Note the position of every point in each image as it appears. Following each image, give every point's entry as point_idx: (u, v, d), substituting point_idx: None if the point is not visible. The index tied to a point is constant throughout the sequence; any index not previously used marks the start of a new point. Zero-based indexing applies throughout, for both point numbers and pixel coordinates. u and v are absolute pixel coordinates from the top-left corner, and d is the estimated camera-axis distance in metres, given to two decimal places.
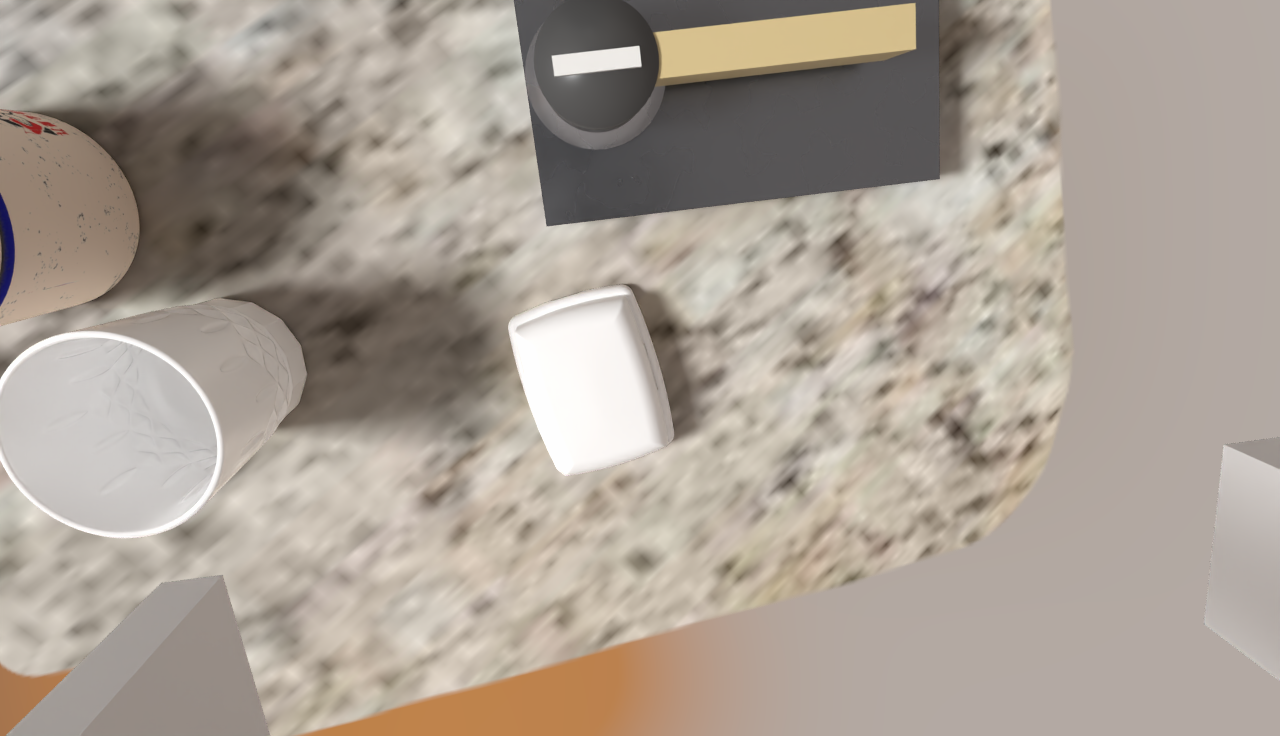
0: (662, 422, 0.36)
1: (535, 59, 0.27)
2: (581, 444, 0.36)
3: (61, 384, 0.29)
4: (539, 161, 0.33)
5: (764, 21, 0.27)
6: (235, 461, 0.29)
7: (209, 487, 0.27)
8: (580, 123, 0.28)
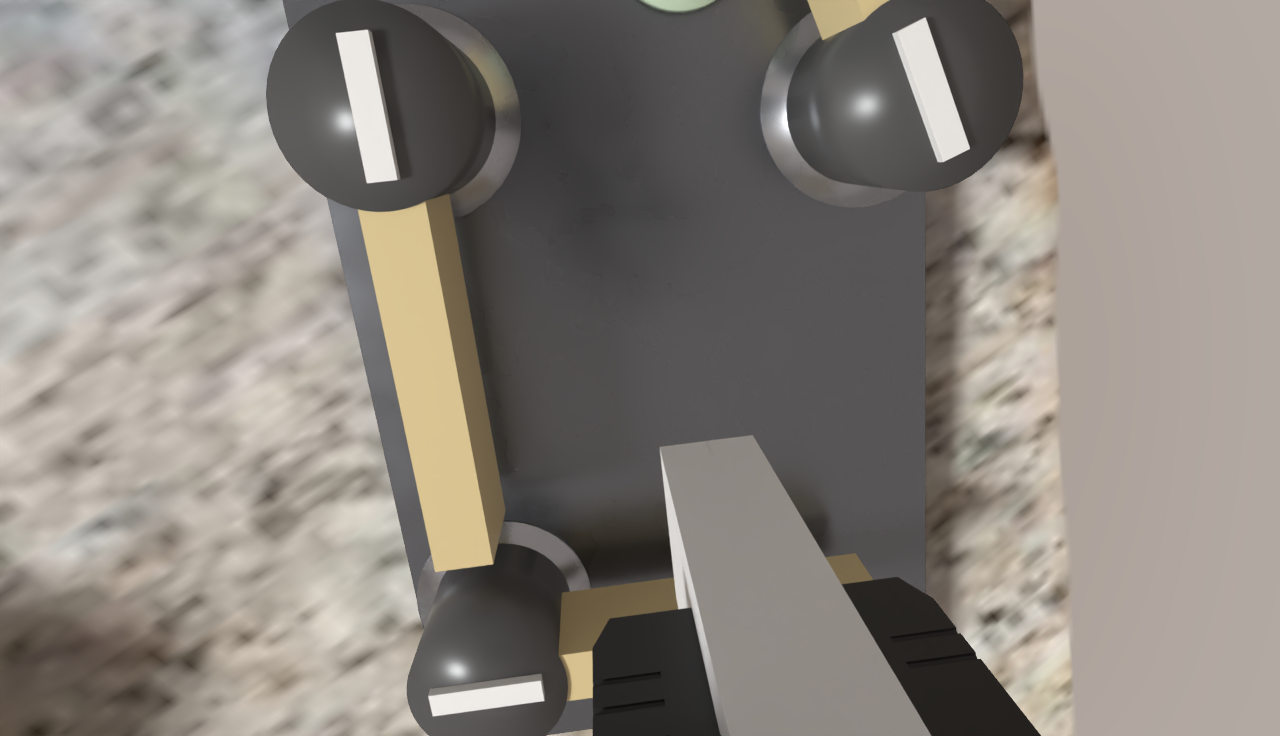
0: None
1: (409, 692, 0.21)
2: None
3: None
4: None
5: None
6: None
7: None
8: None
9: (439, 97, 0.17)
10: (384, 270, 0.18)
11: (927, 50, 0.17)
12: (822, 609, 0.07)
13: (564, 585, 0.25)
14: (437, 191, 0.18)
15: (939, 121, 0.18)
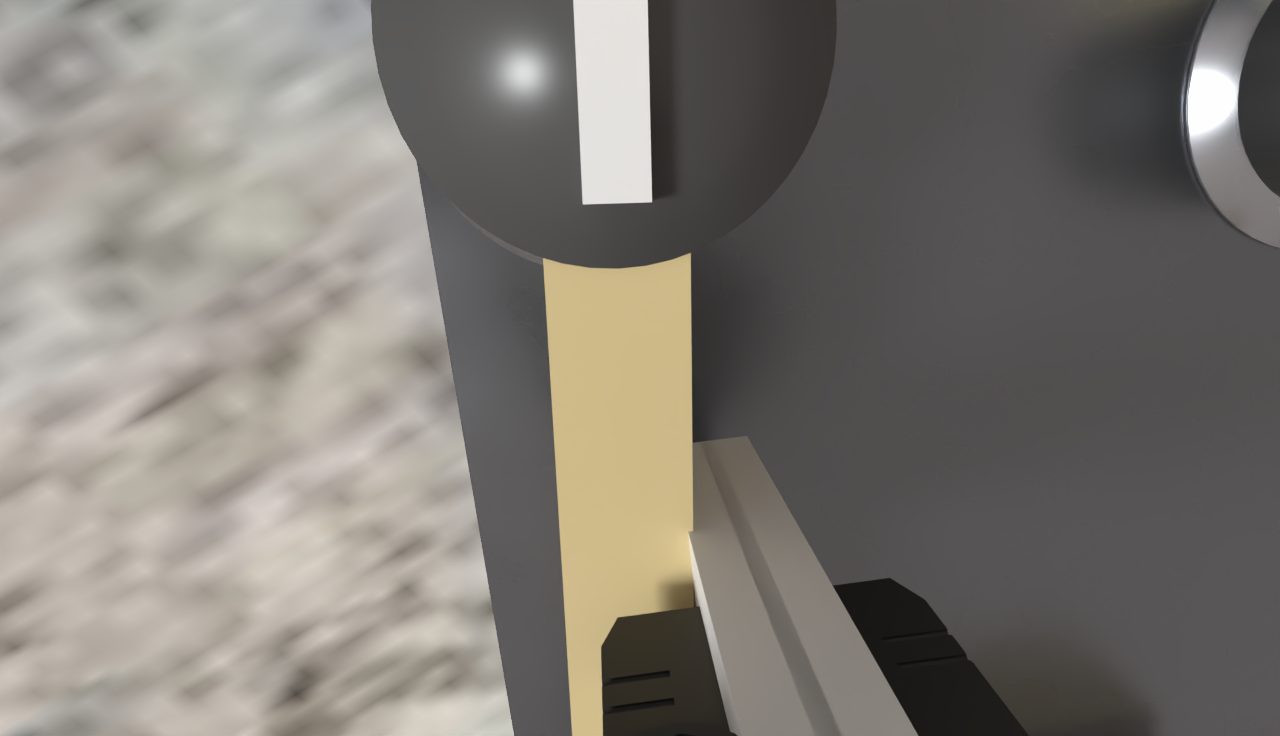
0: None
1: None
2: None
3: None
4: None
5: None
6: None
7: None
8: None
9: (767, 26, 0.07)
10: (580, 390, 0.08)
11: None
12: (813, 610, 0.07)
13: None
14: (722, 233, 0.08)
15: None
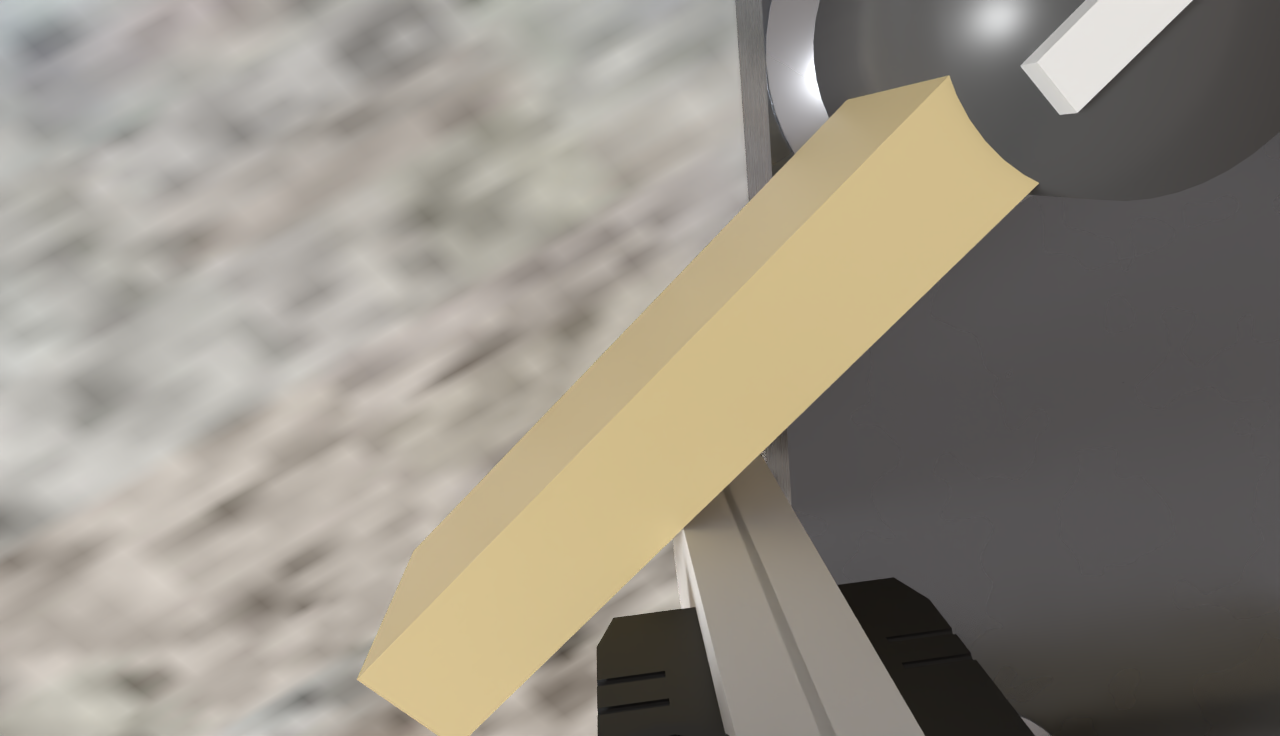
0: None
1: None
2: None
3: None
4: None
5: None
6: None
7: None
8: None
9: (1247, 79, 0.08)
10: (863, 204, 0.08)
11: None
12: (817, 610, 0.07)
13: None
14: (1073, 192, 0.08)
15: None
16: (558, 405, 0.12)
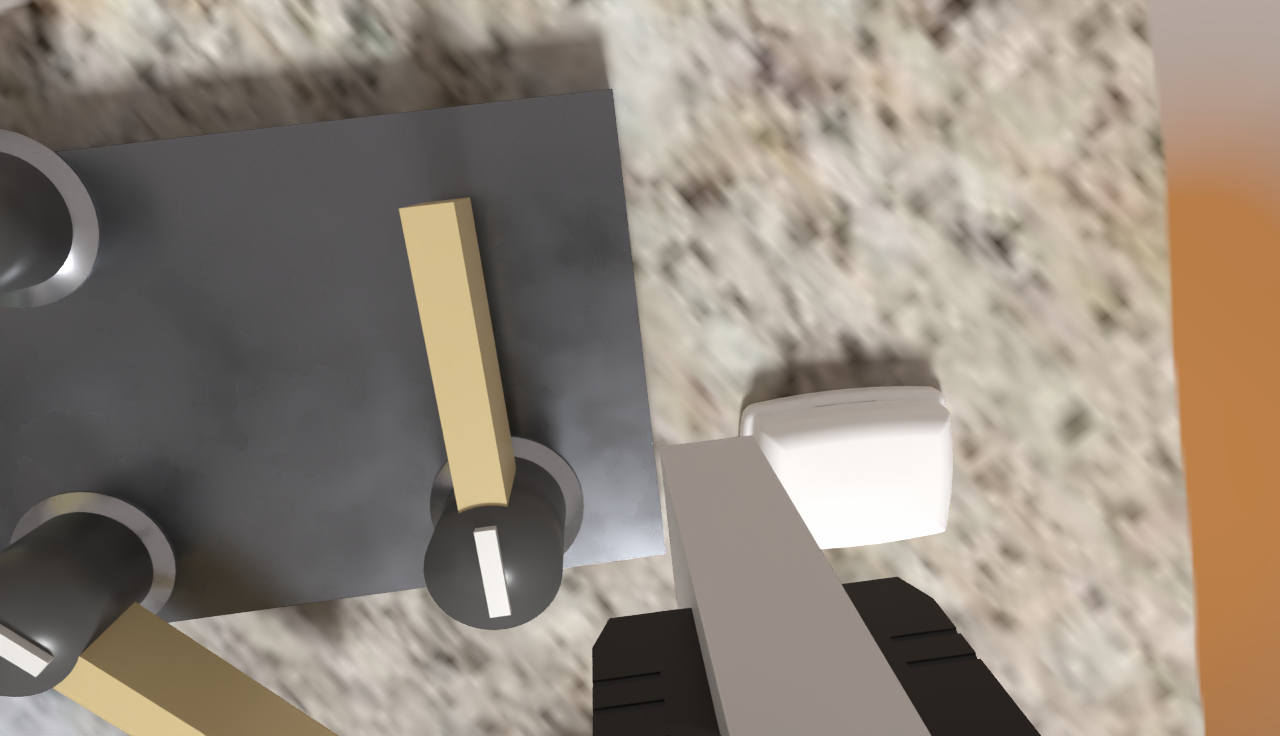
0: (919, 413, 0.30)
1: (494, 628, 0.25)
2: (915, 511, 0.30)
3: None
4: (597, 561, 0.30)
5: (436, 392, 0.23)
6: None
7: None
8: (559, 584, 0.25)
9: (28, 603, 0.24)
10: (97, 705, 0.25)
11: None
12: (822, 609, 0.07)
13: None
14: (78, 647, 0.25)
15: None
16: None
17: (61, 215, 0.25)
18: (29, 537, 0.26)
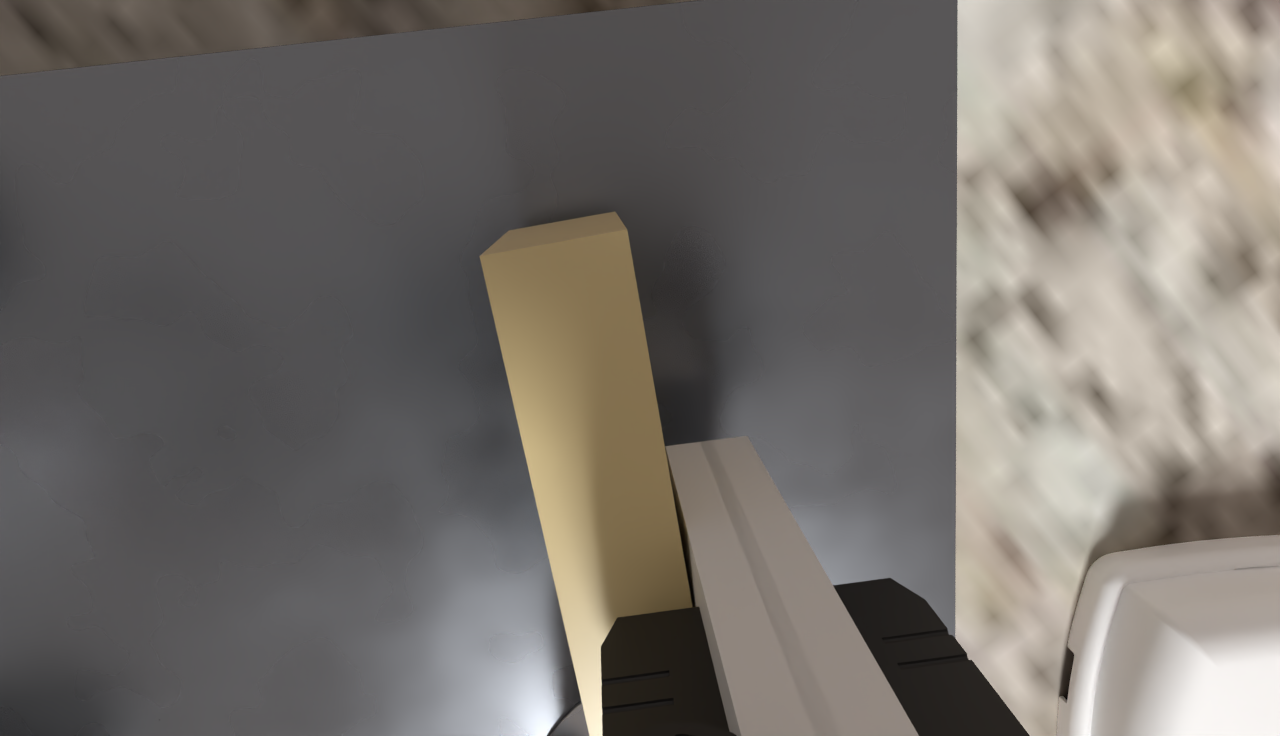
0: None
1: None
2: None
3: None
4: None
5: (584, 696, 0.09)
6: None
7: None
8: None
9: None
10: None
11: None
12: (813, 611, 0.07)
13: None
14: None
15: None
16: None
17: None
18: None
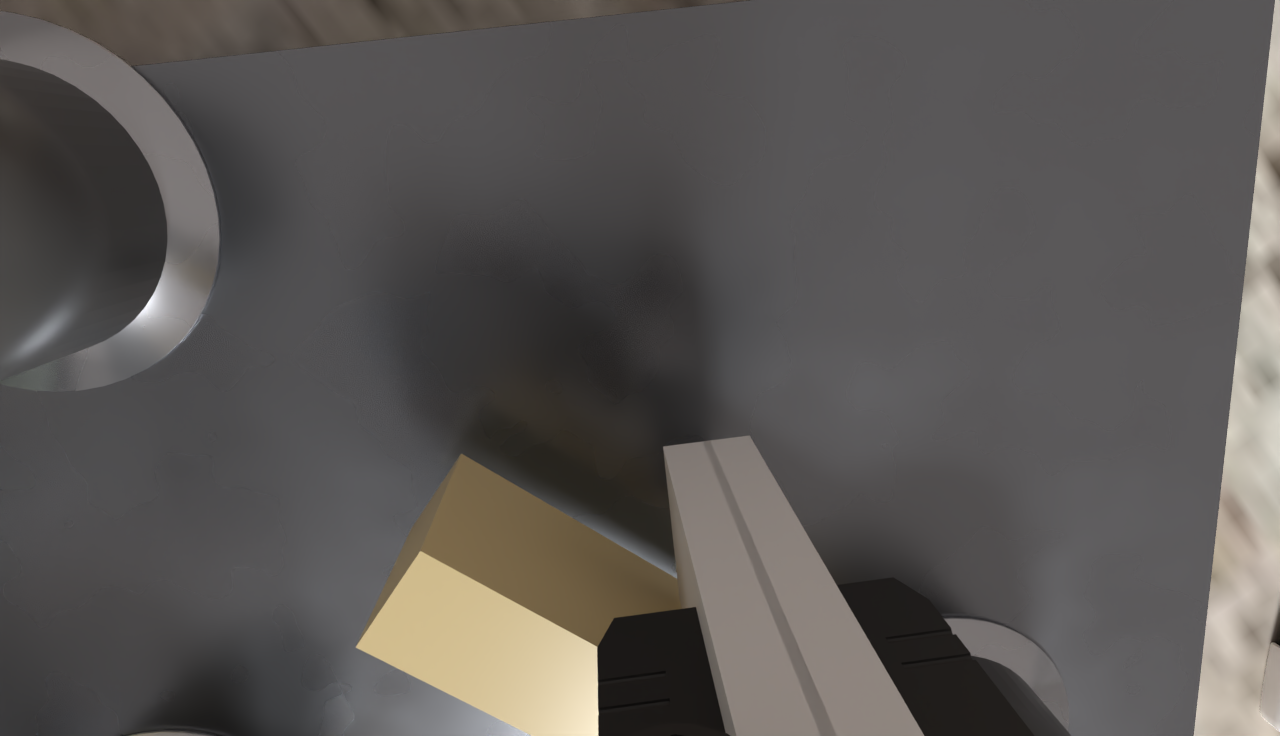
0: None
1: None
2: None
3: None
4: None
5: None
6: None
7: None
8: None
9: None
10: None
11: None
12: (817, 610, 0.07)
13: None
14: None
15: None
16: None
17: (147, 202, 0.11)
18: None
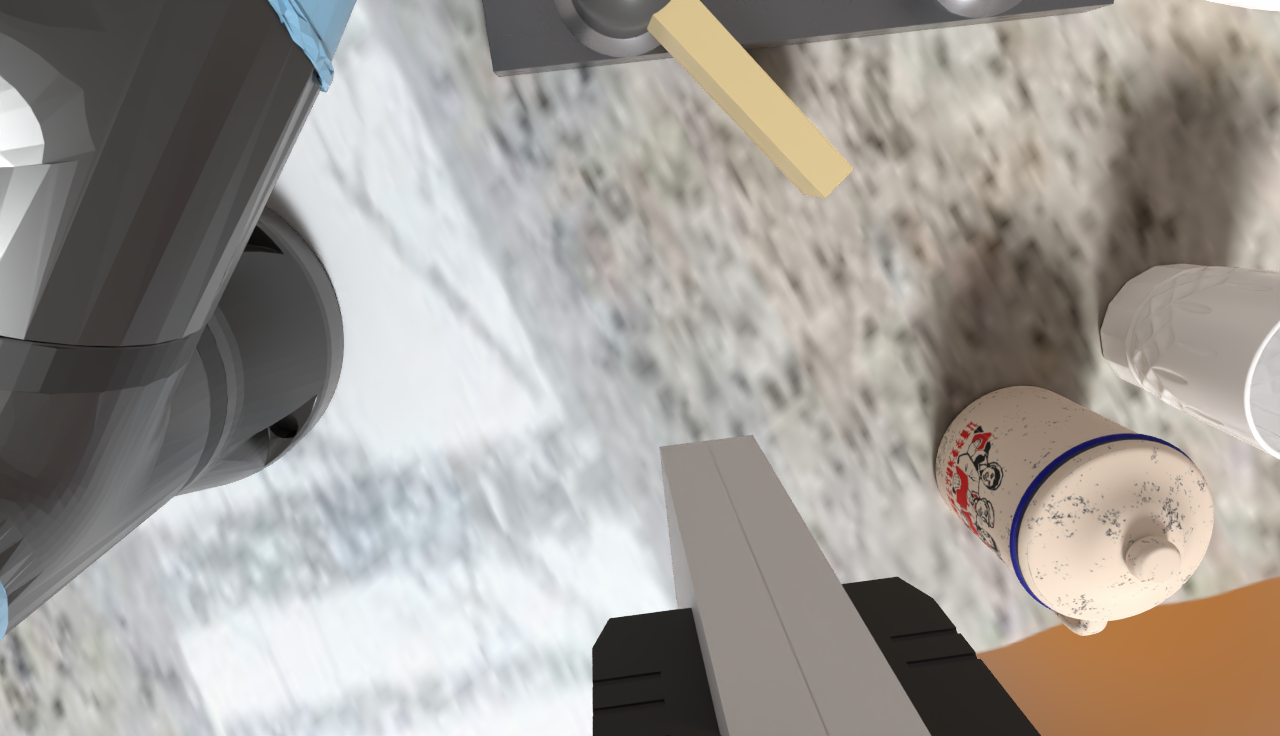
0: None
1: None
2: None
3: None
4: (1052, 7, 0.33)
5: None
6: None
7: None
8: None
9: None
10: (687, 38, 0.29)
11: None
12: (822, 609, 0.07)
13: None
14: None
15: None
16: (750, 137, 0.33)
17: None
18: None
